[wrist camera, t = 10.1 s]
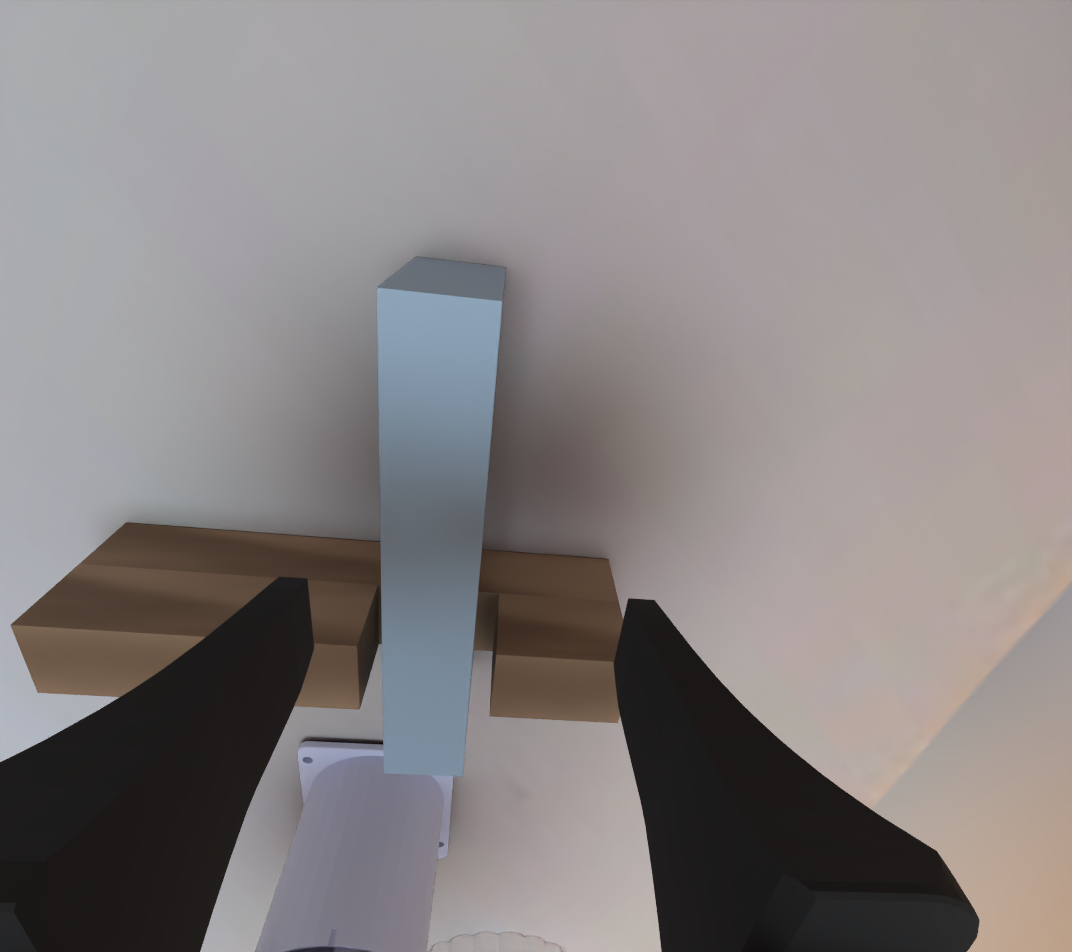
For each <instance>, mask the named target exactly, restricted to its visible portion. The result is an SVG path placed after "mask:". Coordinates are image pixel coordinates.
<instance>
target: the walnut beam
mask: <svg viewBox="0 0 1072 952" xmlns="http://www.w3.org/2000/svg"><path fill="white" fill-rule="evenodd" d="M278 577H294V578H308V588H309V599H310V609H311V619H312V629H313V640H314V651H313V654H312V657H311V661H310V664H309V667H308V671H307V674H306V677H305V680H304V683H303V686H302V689H301V692H300V694H299V696H298V699H297V701H296V703H295V705H294V706H303V707H322V708H341V709H360V706H361V703H362V699H363V696H364V693H365V689H366V686H367V682H368V679H369V676H370V672H371V669H372V665H373V662H374V659H375V655H376V652H377V648H378V645H379V644H382V614H381V544H380V542H373V541H360V540H347V539H333V538H320V537H307V536H294V535H281V534H267V533H254V532H241V531H228V530H215V529H201V528H188V527H175V526H162V525H149V524H135V523H125V524H124V525H123V526H122V527H121V528H119V529H118V530H117V531H116V532H115V533H114V534H113V535H112V536H110V537H109V538H108V539H107V540H106V541H105V542H104V543H103V544H101V545H100V546H99V547H98V548H97V549H96V550H95V551H94V552H92V553H91V554H90V555H89V556H88V557H87V558H86V559H84V560H83V561H82V562H81V563H80V564H79V565H78V566H77V567H75V568H74V569H73V570H72V571H71V572H70V573H69V574H68V575H66V576H65V577H64V578H63V579H62V580H61V581H60V582H59V583H57V584H56V585H55V586H54V587H53V588H52V589H51V590H50V591H48V592H47V593H46V594H45V595H44V596H43V597H42V598H40V599H39V600H38V601H37V602H36V603H35V604H34V605H33V606H31V607H30V608H29V609H28V610H27V611H26V612H25V613H24V614H22V615H21V616H20V617H19V618H18V619H17V620H16V621H15V622H13V623H12V624H11V627H12V630H13V632H14V635H15V637H16V640H17V642H18V645H19V647H20V650H21V652H22V655H23V657H24V660H25V662H26V665H27V667H28V670H29V672H30V675H31V677H32V680H33V682H34V684H35V687H36V689H37V692H38V693H54V694H74V695H93V696H112V697H121V696H123V695H124V694H126V693H127V692H129V691H131V690H132V689H134V688H135V687H137V686H138V685H140V684H141V683H143V682H144V681H146V680H147V679H149V678H150V677H152V676H153V675H155V674H156V673H158V672H159V671H161V670H162V669H164V668H165V667H166V666H168V665H169V664H170V663H172V662H173V661H174V660H176V659H177V658H178V657H180V656H181V655H183V654H184V653H185V652H187V651H188V650H189V649H191V648H192V647H193V646H195V645H196V644H197V643H199V642H200V641H201V640H203V639H204V638H205V637H206V636H208V635H209V634H210V633H211V632H213V631H214V630H215V629H216V628H217V627H219V626H220V625H221V624H222V623H224V622H225V621H226V620H227V619H229V618H230V617H231V616H232V615H234V614H235V613H236V612H237V611H238V610H240V609H241V608H242V607H243V606H244V605H246V604H247V603H248V602H249V601H250V600H251V599H253V598H254V597H255V596H256V595H257V594H259V593H260V592H261V591H262V590H263V589H265V588H266V587H267V586H268V585H269V584H271V583H272V582H273V581H274V580H276V579H277V578H278ZM622 624H623V618H622V614H621V610H620V606H619V601H618V597H617V593H616V589H615V585H614V581H613V577H612V573H611V568H610V564H609V560H608V559H598V558H584V557H571V556H558V555H545V554H532V553H518V552H505V551H492V550H482V555H481V566H480V577H479V589H478V601H477V613H476V625H475V636H474V648H473V650H485V651H493V657H492V677H491V698H490V716H494V717H513V718H532V719H551V720H570V721H589V722H608V723H618V720H619V716H620V712H619V708H618V700H617V692H616V684H615V674H614V660H615V655H616V651H617V646H618V642H619V638H620V633H621V629H622Z"/></svg>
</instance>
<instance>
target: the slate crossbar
mask: <svg viewBox="0 0 1072 952" xmlns="http://www.w3.org/2000/svg"><path fill="white" fill-rule="evenodd" d="M505 273H506V267H501V266H492V265H484V264H475V263H466V262H458V261H449V260H440V259H431V258H423V257H415V258H414V259H412V260H411V261H410V262H408V263H407V264H406V265H405V266H403V267H402V268H401V269H400V270H398V271H397V272H396V273H395V274H393V275H392V276H391V277H390V278H388V279H387V280H386V281H384V282H383V283H382V284H381V285H379V286H378V287H377V332H378V403H379V473H380V544H381V614H382V684H383V755H384V773H388V774H411V775H434V776H457V777H462V776H463V764H464V753H465V742H466V731H467V719H468V708H469V697H470V686H471V674H472V663H473V651H474V650H473V648H474V636H475V625H476V613H477V601H478V589H479V577H480V566H481V555H482V544H483V533H484V521H485V509H486V498H487V486H488V474H489V462H490V450H491V438H492V427H493V415H494V403H495V391H496V379H497V367H498V356H499V344H500V332H501V320H502V308H503V296H504V285H505Z"/></svg>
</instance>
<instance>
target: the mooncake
mask: <svg viewBox="0 0 1072 952" xmlns="http://www.w3.org/2000/svg"><path fill="white" fill-rule="evenodd" d="M427 952H561V949H560V947H559V946H558V945H557V944H554V943H544V940H543V939H542V938H540V937H537V936H524V937H523V936H522V935H521V934H519V933H516V932H504V933H501V934H497V933H494V932H481V933H478V934H476V935H474V936H471V935H460V936H457V937H455V938H453V939H452V940H451V942H440V943H437V944H435V945H434V946H433V948H432V951H427Z"/></svg>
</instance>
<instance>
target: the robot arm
mask: <svg viewBox="0 0 1072 952" xmlns="http://www.w3.org/2000/svg"><path fill="white" fill-rule="evenodd" d="M313 651H314V640H313V629H312V619H311V609H310V599H309V588H308V578H294V577H278V578H277V579H276V580H274V581H273V582H272V583H271V584H269V585H268V586H267V587H266V588H265V589H263V590H262V591H261V592H260V593H259V594H257V595H256V596H255V597H254V598H253V599H251V600H250V601H249V602H248V603H247V604H246V605H244V606H243V607H242V608H241V609H240V610H238V611H237V612H236V613H235V614H234V615H232V616H231V617H230V618H229V619H227V620H226V621H225V622H224V623H222V624H221V625H220V626H219V627H217V628H216V629H215V630H214V631H213V632H211V633H210V634H209V635H208V636H206V637H205V638H204V639H203V640H201V641H200V642H199V643H197V644H196V645H195V646H193V647H192V648H191V649H189V650H188V651H187V652H185V653H184V654H183V655H181V656H180V657H178V658H177V659H176V660H174V661H173V662H172V663H170V664H169V665H168V666H166V667H165V668H164V669H162V670H161V671H159V672H158V673H156V674H155V675H153V676H152V677H150V678H149V679H147V680H146V681H144V682H143V683H141V684H140V685H138V686H137V687H135V688H134V689H132V690H131V691H129V692H127V693H126V694H124V695H123V696H121V697H119V698H118V699H116V700H115V701H113V702H111V703H110V704H108V705H106V706H105V707H103V708H101V709H100V710H98V711H96V712H94V713H93V714H91V715H89V716H87V717H85V718H84V719H82V720H80V721H78V722H76V723H75V724H73V725H71V726H69V727H67V728H66V729H64V730H62V731H60V732H59V733H57V734H55V735H53V736H51V737H50V738H48V739H46V740H44V741H42V742H40V743H38V744H36V745H34V746H32V747H30V748H28V749H26V750H24V751H22V752H20V753H18V754H16V755H14V756H12V757H10V758H8V759H6V760H4V761H2V762H0V952H200V950H201V947H202V944H203V941H204V938H205V934H206V931H207V928H208V925H209V921H210V918H211V915H212V912H213V909H214V906H215V903H216V900H217V897H218V894H219V891H220V888H221V885H222V882H223V879H224V876H225V873H226V870H227V867H228V864H229V861H230V858H231V855H232V852H233V849H234V846H235V844H236V841H237V838H238V835H239V832H240V829H241V826H242V824H243V821H244V818H245V815H246V812H247V810H248V807H249V805H250V802H251V800H252V798H253V795H254V793H255V790H256V788H257V786H258V784H259V781H260V779H261V777H262V775H263V773H264V771H265V768H266V766H267V764H268V762H269V760H270V758H271V755H272V753H273V751H274V749H275V747H276V745H277V742H278V740H279V738H280V736H281V734H282V732H283V729H284V727H285V725H286V723H287V721H288V719H289V716H290V714H291V712H292V710H293V707H294V705H295V703H296V701H297V699H298V696H299V694H300V692H301V689H302V686H303V683H304V680H305V677H306V674H307V671H308V667H309V664H310V661H311V657H312V654H313ZM614 674H615V684H616V692H617V700H618V708H619V712H620V716H621V721H622V725H623V729H624V734H625V738H626V742H627V746H628V750H629V755H630V759H631V763H632V767H633V771H634V775H635V779H636V784H637V788H638V792H639V796H640V800H641V805H642V810H643V815H644V820H645V825H646V832H647V839H648V846H649V853H650V860H651V868H652V875H653V883H654V891H655V899H656V906H657V914H658V922H659V931H660V940H661V949H662V952H967V951H968V949H969V948H970V947H971V945H972V944H973V942H974V941H975V939H976V937H977V933H978V927H979V918H978V916H977V914H976V912H975V910H974V909H973V907H972V905H971V903H970V902H969V900H968V899H967V897H966V895H965V894H964V892H963V891H962V889H961V888H960V886H959V884H958V883H957V881H956V879H955V878H954V876H953V875H952V873H951V871H950V870H949V868H948V867H947V865H946V864H945V862H944V861H943V860H942V858H941V857H940V855H939V854H938V852H937V851H936V850H934V849H932V848H931V847H929V846H927V845H926V844H924V843H923V842H921V841H920V840H918V839H916V838H915V837H913V836H911V835H910V834H908V833H907V832H905V831H904V830H902V829H900V828H899V827H897V826H895V825H894V824H892V823H891V822H889V821H888V820H886V819H884V818H883V817H881V816H880V815H878V814H877V813H875V812H874V811H872V810H871V809H869V808H868V807H867V806H865V805H864V804H862V803H861V802H859V801H858V800H857V799H855V798H854V797H852V796H851V795H849V794H848V793H847V792H845V791H844V790H842V789H841V788H840V787H838V786H837V785H836V784H834V783H833V782H832V781H830V780H829V779H828V778H826V777H825V776H824V775H822V774H821V773H820V772H818V771H817V770H816V769H815V768H813V767H812V766H811V765H810V764H808V763H807V762H806V761H805V760H804V759H802V758H801V757H800V756H799V755H797V754H796V753H795V752H794V751H792V750H791V749H790V748H789V747H788V746H787V745H785V744H784V743H783V742H782V741H781V740H780V739H778V738H777V737H776V736H775V735H774V734H773V733H772V732H771V731H770V730H769V729H767V728H766V727H765V726H764V725H763V724H762V723H761V722H760V721H759V720H758V719H757V718H756V717H754V716H753V715H752V714H751V713H750V712H749V711H748V710H747V709H746V708H745V707H744V706H743V705H742V704H741V703H740V702H739V701H738V700H737V699H736V697H735V696H734V695H733V694H732V693H731V692H730V691H729V690H728V689H727V688H726V687H725V686H724V685H723V684H722V683H721V682H720V680H719V679H718V678H717V677H716V676H715V675H714V674H713V672H712V671H711V670H710V669H709V668H708V667H707V665H706V664H705V663H704V662H703V661H702V659H701V658H700V657H699V656H698V655H697V654H696V652H695V651H694V650H693V649H692V647H691V646H690V645H689V644H688V642H687V641H686V640H685V639H684V637H683V636H682V635H681V634H680V632H679V631H678V630H677V628H676V627H675V626H674V625H673V623H672V622H671V621H670V619H669V618H668V617H667V615H666V614H665V613H664V612H663V610H662V609H661V608H660V607H659V605H658V604H657V603H656V602H655V600H644V599H628V602H627V607H626V611H625V616H624V620H623V624H622V629H621V633H620V638H619V642H618V646H617V651H616V655H615V660H614ZM297 754H298V763H299V771H300V780H301V788H302V797H303V805H304V808H303V811H302V814H301V817H300V820H299V822H298V825H297V828H296V831H295V834H294V837H293V840H292V843H291V846H290V849H289V852H288V855H287V858H286V861H285V864H284V867H283V870H282V873H281V876H280V879H279V882H278V885H277V888H276V891H275V894H274V897H273V900H272V903H271V906H270V909H269V912H268V915H267V918H266V920H265V923H264V926H263V929H262V932H261V935H260V938H259V941H258V944H257V947H256V950H255V952H427V944H428V935H429V927H430V918H431V909H432V901H433V892H434V883H435V875H436V866H437V859H442V858H444V857H446V856H447V854H448V842H449V828H450V815H451V801H452V788H453V776H434V775H411V774H388V773H384V755H383V745H380V744H359V743H338V742H317V741H305V742H303V743H301V744H300V746H299V748H298V751H297Z"/></svg>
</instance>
